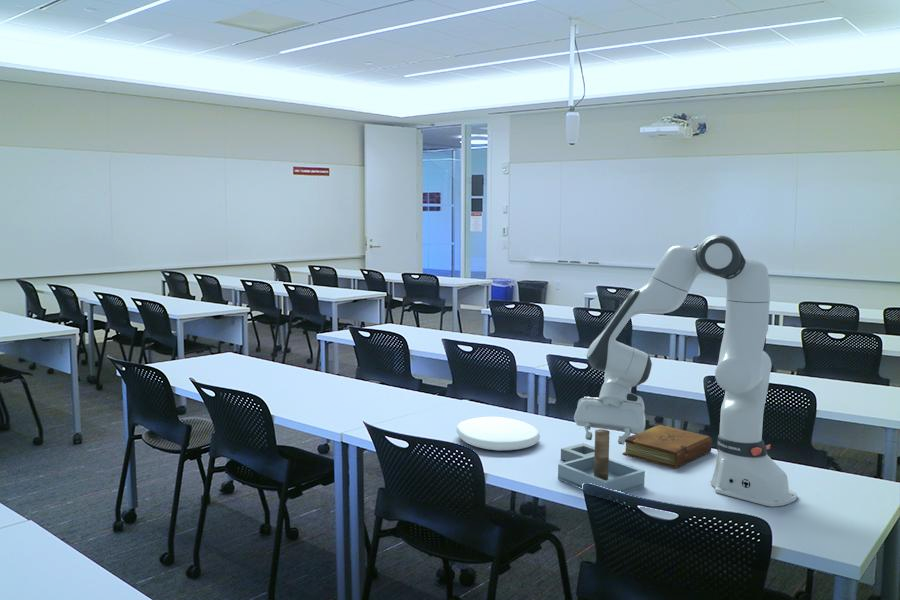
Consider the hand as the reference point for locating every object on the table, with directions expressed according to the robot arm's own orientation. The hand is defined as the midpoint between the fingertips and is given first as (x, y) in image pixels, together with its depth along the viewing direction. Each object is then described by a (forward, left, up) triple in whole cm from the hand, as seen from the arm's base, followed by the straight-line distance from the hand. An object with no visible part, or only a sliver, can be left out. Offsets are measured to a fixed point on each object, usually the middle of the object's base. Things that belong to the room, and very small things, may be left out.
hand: (604, 441), depth 208 cm
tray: (0, +2, -12) cm, 12 cm away
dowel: (-1, +2, -11) cm, 11 cm away
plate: (+47, +1, -12) cm, 48 cm away
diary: (+6, -36, -13) cm, 39 cm away
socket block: (+16, -8, -12) cm, 21 cm away
